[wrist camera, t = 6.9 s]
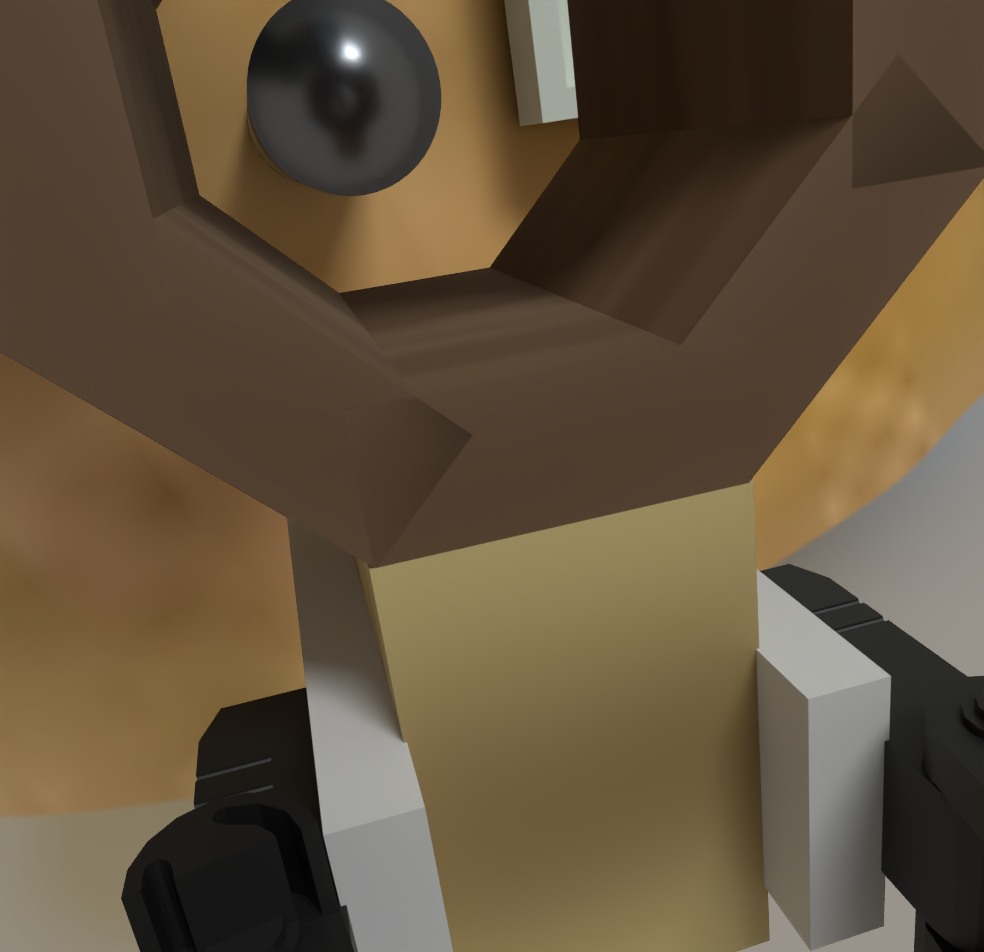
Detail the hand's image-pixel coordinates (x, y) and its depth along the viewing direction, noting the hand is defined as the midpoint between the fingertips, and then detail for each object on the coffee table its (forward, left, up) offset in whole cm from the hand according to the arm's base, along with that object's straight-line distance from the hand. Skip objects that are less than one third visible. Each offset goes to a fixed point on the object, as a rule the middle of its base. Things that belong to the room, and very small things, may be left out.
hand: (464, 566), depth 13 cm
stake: (0, +7, -13) cm, 14 cm away
